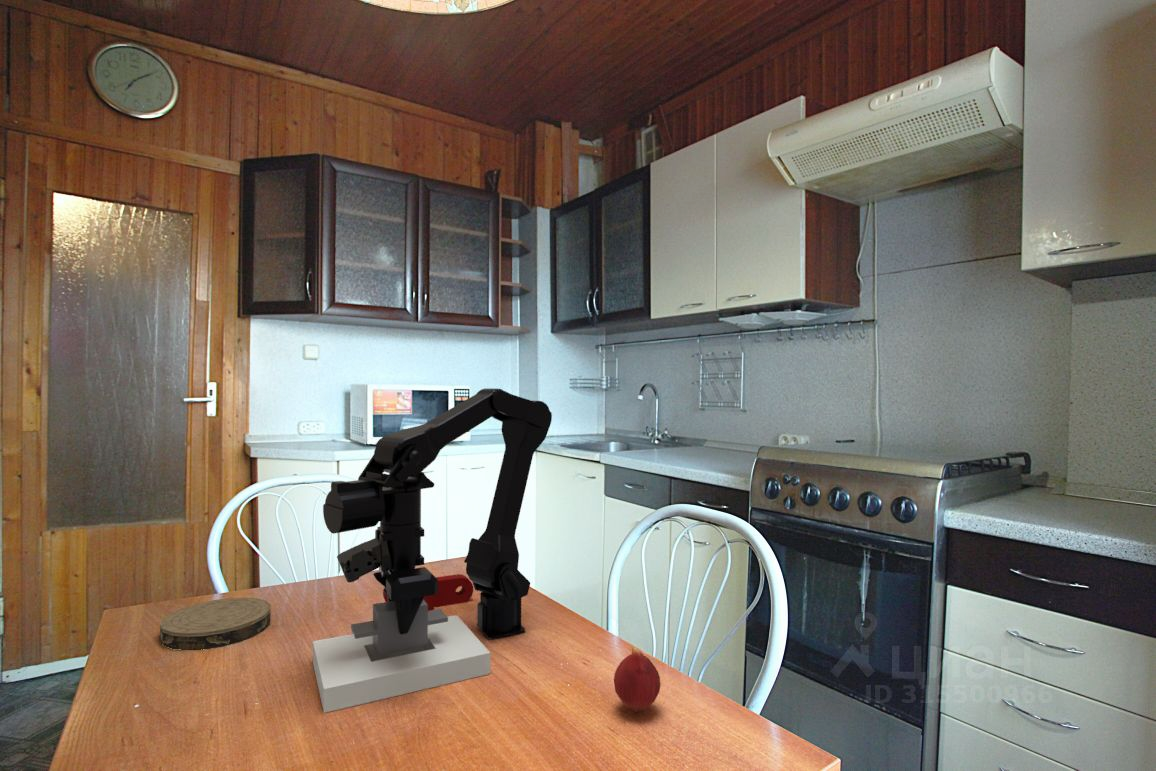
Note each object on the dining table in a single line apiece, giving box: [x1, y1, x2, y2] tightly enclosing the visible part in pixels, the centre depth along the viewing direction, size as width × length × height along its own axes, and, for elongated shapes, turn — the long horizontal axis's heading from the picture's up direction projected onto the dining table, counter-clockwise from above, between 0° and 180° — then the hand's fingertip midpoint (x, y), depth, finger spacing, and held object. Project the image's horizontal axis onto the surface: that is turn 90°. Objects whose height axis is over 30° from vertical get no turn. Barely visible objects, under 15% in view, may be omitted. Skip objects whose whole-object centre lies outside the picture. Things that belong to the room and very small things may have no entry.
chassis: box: [312, 615, 491, 714], centre depth 88 cm, size 22×16×3 cm
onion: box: [613, 646, 661, 713], centre depth 76 cm, size 6×6×8 cm
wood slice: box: [159, 596, 272, 651], centre depth 101 cm, size 16×16×3 cm
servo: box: [350, 599, 449, 656], centre depth 88 cm, size 13×4×7 cm, turn 118°
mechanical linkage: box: [382, 573, 474, 611], centre depth 113 cm, size 16×7×5 cm, turn 115°
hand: (400, 628), depth 88 cm, fingers closed on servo, 4 cm apart
